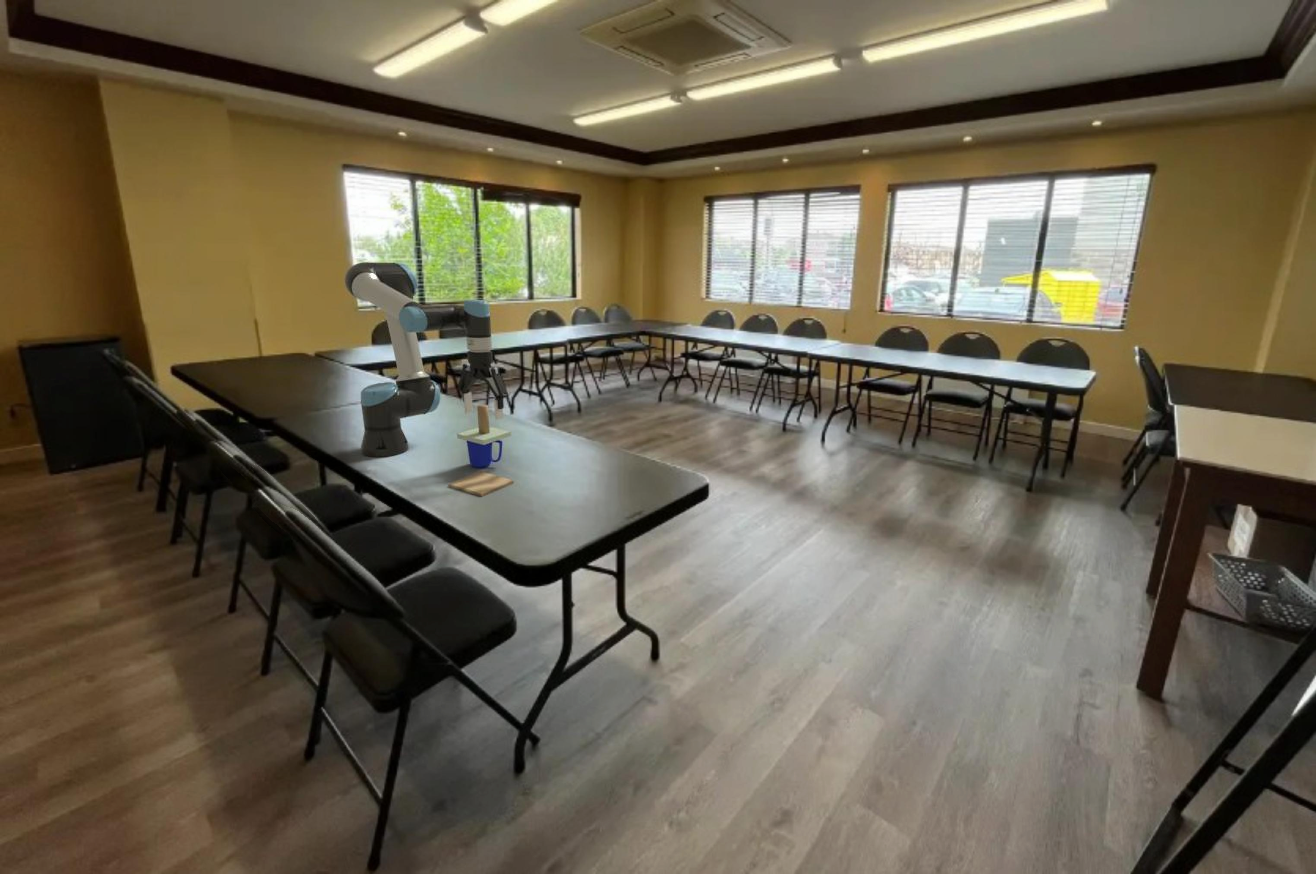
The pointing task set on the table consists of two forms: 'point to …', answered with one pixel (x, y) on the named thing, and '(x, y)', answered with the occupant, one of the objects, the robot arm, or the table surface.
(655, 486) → the table surface
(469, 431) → the lid
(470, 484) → the mat
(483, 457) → the mug
